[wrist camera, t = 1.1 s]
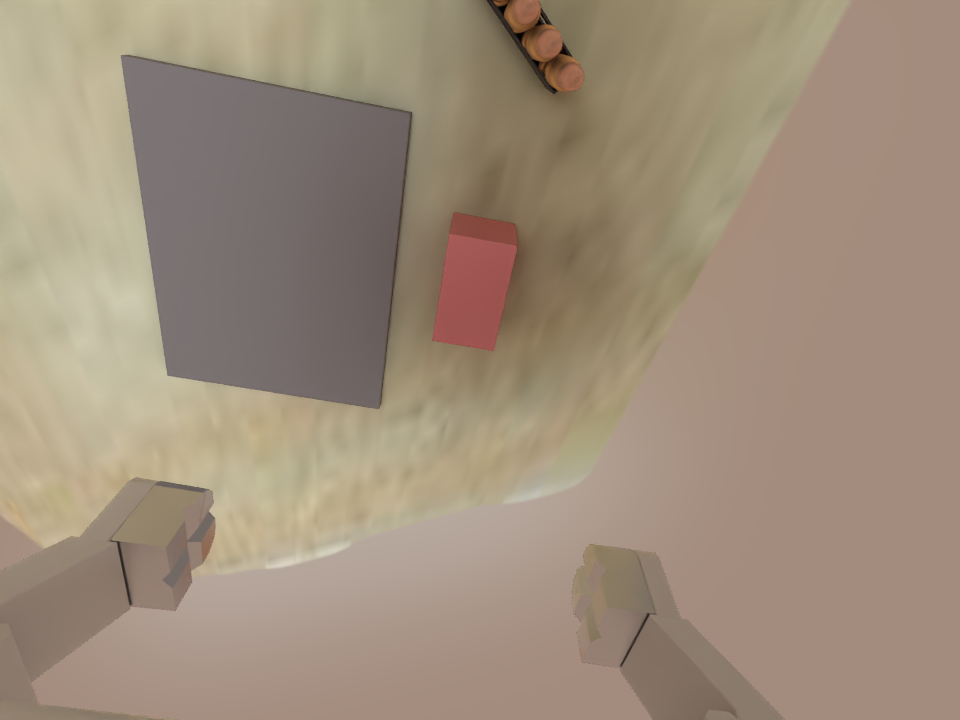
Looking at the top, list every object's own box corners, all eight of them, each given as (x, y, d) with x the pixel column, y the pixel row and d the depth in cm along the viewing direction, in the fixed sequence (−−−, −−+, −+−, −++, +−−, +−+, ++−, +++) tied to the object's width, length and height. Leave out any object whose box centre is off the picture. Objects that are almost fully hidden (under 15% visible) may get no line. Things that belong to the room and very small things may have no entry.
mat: (128, 54, 33) (120, 55, 33) (411, 112, 35) (410, 113, 34) (172, 370, 46) (167, 375, 45) (380, 403, 47) (378, 409, 46)
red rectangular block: (453, 211, 38) (449, 233, 34) (514, 223, 39) (517, 246, 34) (438, 310, 42) (432, 340, 38) (493, 319, 43) (493, 350, 38)
